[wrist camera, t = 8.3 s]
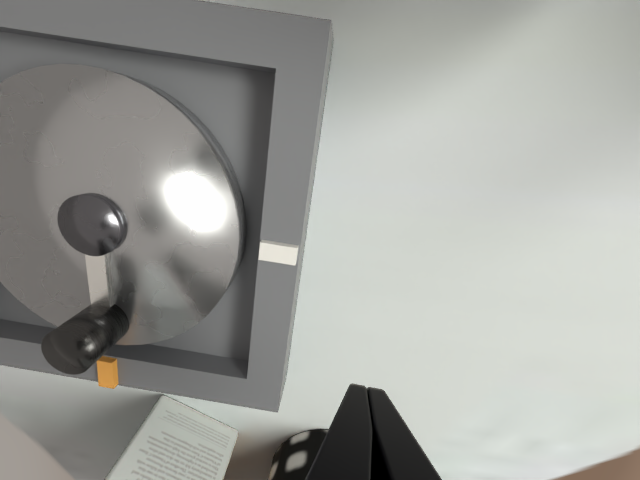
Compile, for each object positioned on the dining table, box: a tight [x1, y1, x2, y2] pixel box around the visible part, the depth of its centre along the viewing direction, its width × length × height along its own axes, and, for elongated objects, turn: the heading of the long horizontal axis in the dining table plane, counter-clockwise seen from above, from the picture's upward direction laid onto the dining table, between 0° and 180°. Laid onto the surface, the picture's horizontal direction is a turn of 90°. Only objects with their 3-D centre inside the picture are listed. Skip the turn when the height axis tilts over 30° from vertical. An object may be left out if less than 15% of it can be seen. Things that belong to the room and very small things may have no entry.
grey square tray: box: [0, 0, 333, 412], centre depth 18 cm, size 20×20×3 cm
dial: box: [0, 64, 247, 375], centre depth 16 cm, size 14×14×4 cm
